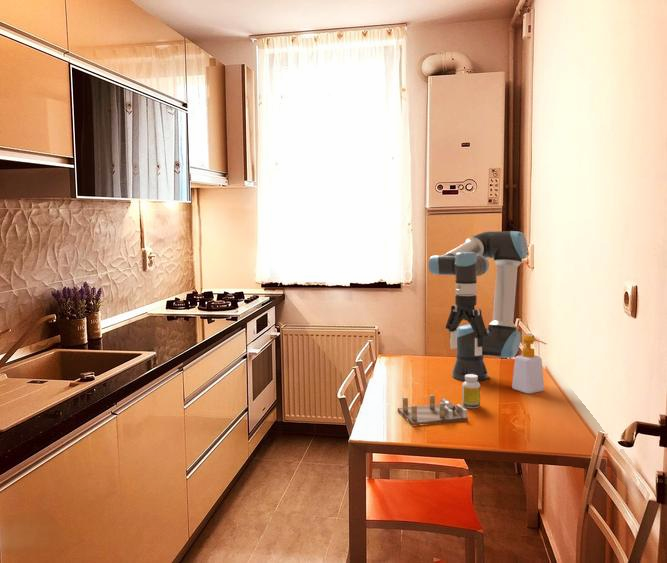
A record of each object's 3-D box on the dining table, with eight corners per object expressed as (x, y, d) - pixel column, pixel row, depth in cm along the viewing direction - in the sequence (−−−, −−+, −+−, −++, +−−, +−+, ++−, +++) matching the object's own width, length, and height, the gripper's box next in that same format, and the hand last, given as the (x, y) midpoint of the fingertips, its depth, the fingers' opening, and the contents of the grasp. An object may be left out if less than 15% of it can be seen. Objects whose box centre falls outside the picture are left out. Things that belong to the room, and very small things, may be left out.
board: (397, 411, 209) (397, 394, 209) (448, 406, 213) (448, 390, 213) (412, 426, 194) (412, 408, 193) (467, 420, 198) (467, 403, 197)
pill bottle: (480, 409, 209) (480, 378, 208) (462, 408, 210) (462, 377, 209) (479, 403, 216) (479, 373, 214) (462, 403, 217) (462, 373, 216)
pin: (440, 406, 209) (439, 398, 208) (447, 406, 209) (447, 398, 209) (447, 413, 202) (447, 404, 202) (455, 412, 203) (455, 404, 202)
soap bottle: (536, 398, 221) (537, 341, 218) (510, 389, 233) (510, 335, 231) (554, 394, 225) (555, 338, 223) (527, 385, 237) (528, 332, 235)
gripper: (436, 292, 218) (436, 346, 220) (481, 298, 196) (481, 359, 198) (452, 290, 221) (451, 344, 223) (498, 297, 199) (497, 357, 201)
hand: (465, 351), depth 211 cm, fingers open, 13 cm apart
